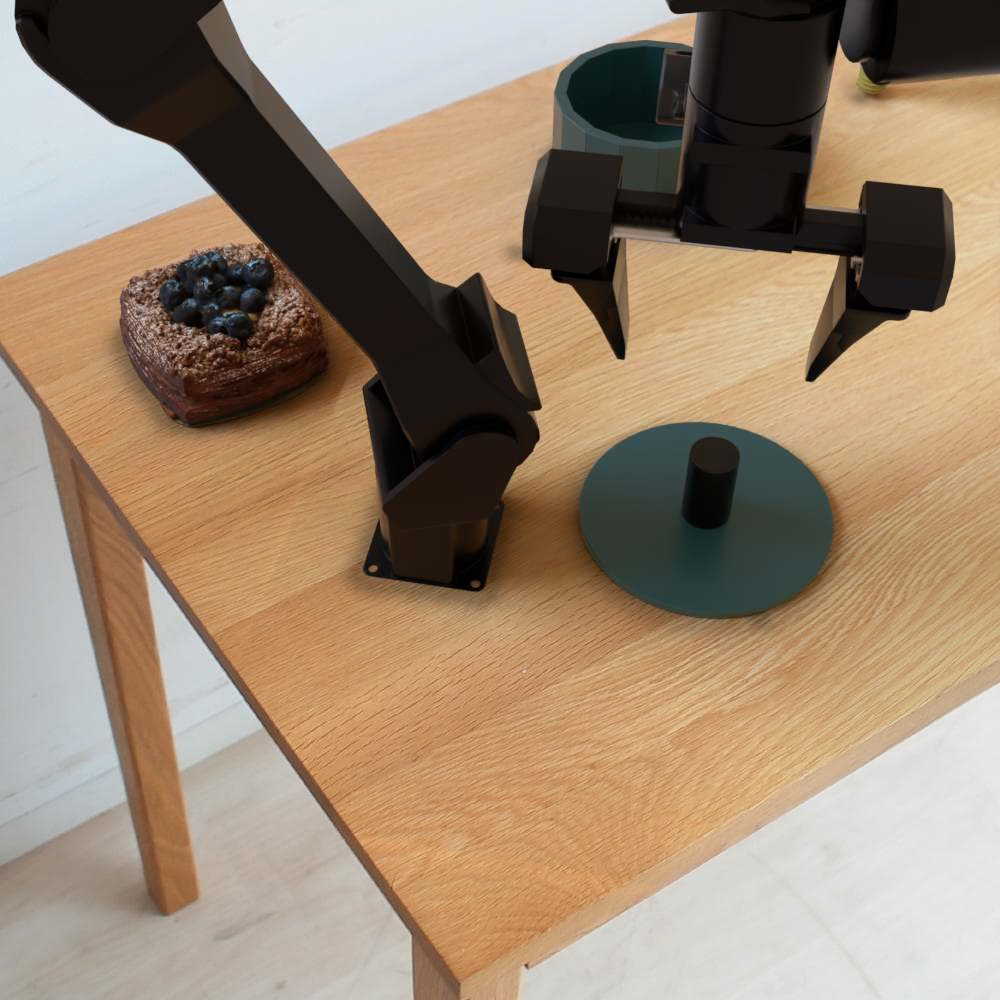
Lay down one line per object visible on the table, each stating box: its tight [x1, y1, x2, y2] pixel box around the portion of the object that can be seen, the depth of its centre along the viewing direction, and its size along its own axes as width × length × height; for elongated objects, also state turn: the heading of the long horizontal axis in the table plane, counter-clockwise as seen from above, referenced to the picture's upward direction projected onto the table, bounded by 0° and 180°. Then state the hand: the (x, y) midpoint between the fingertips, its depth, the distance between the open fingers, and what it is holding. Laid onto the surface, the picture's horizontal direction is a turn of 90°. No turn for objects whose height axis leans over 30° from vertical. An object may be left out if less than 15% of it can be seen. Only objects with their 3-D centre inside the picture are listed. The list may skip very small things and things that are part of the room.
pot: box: [551, 39, 693, 194], centre depth 97 cm, size 13×13×6 cm
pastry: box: [118, 242, 331, 427], centre depth 85 cm, size 11×12×6 cm
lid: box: [578, 421, 834, 619], centre depth 76 cm, size 14×14×6 cm
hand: (714, 364), depth 71 cm, fingers open, 9 cm apart
